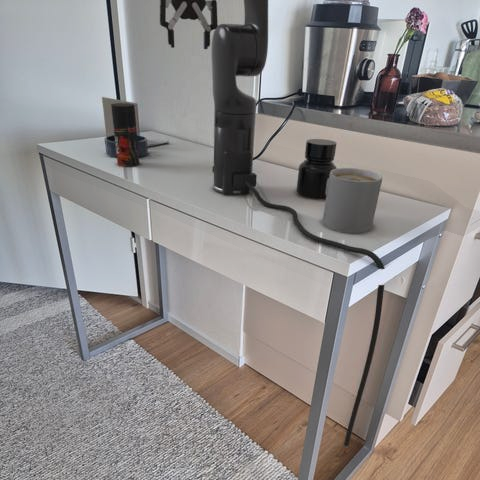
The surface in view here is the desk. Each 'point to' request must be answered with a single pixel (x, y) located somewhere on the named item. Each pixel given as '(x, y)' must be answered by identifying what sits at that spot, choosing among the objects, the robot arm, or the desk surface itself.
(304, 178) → the ink bottle
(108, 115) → the laptop
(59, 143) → the desk surface
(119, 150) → the deodorant
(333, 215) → the coffee mug
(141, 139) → the bowl
